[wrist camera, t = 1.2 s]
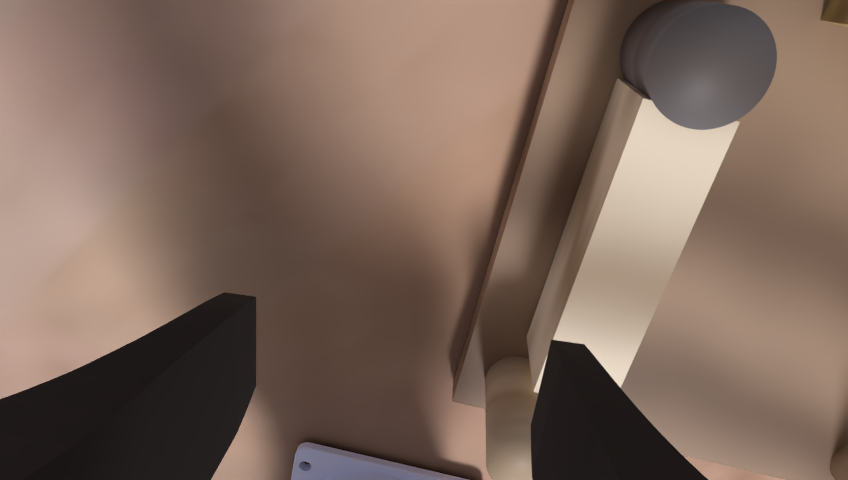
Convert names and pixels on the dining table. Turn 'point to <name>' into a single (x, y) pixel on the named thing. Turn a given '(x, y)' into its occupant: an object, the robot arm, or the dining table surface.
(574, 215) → the leg bar
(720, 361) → the stool seat
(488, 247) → the dining table surface
